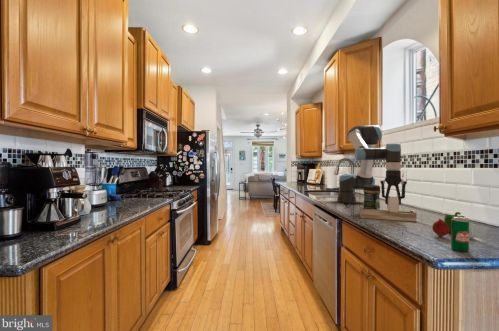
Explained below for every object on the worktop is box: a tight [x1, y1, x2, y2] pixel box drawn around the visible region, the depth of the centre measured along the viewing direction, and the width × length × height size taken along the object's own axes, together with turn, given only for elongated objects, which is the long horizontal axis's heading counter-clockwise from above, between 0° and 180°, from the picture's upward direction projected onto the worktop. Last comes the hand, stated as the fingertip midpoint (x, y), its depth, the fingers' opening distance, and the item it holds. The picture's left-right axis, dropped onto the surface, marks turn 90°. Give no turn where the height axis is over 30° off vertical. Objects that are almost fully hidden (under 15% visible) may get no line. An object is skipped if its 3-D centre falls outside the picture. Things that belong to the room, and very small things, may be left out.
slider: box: [388, 195, 398, 213], centre depth 145 cm, size 4×4×10 cm
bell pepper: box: [443, 211, 465, 234], centre depth 114 cm, size 8×8×10 cm
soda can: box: [450, 215, 470, 253], centre depth 91 cm, size 5×5×12 cm
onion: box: [432, 218, 450, 238], centre depth 108 cm, size 6×6×8 cm
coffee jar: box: [362, 184, 381, 210], centre depth 159 cm, size 10×8×19 cm
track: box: [359, 206, 418, 222], centre depth 146 cm, size 10×28×5 cm, turn 71°
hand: (392, 210), depth 145 cm, fingers closed on slider, 4 cm apart
